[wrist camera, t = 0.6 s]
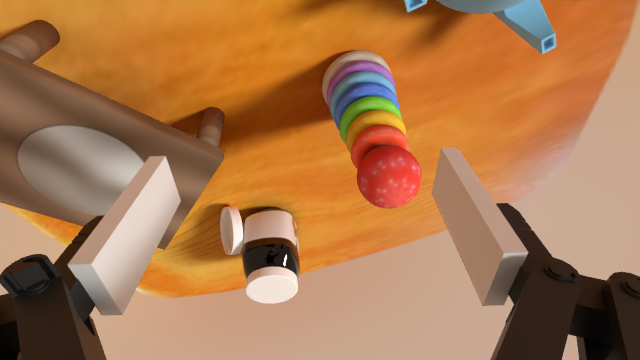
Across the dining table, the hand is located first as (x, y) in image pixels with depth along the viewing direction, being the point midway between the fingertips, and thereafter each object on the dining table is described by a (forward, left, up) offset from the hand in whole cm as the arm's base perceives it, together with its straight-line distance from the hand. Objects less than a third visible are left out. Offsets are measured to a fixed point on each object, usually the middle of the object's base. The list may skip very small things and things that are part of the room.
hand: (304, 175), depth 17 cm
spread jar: (+27, +12, -24) cm, 38 cm away
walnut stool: (+20, -10, -24) cm, 33 cm away
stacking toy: (+1, +10, -24) cm, 26 cm away
